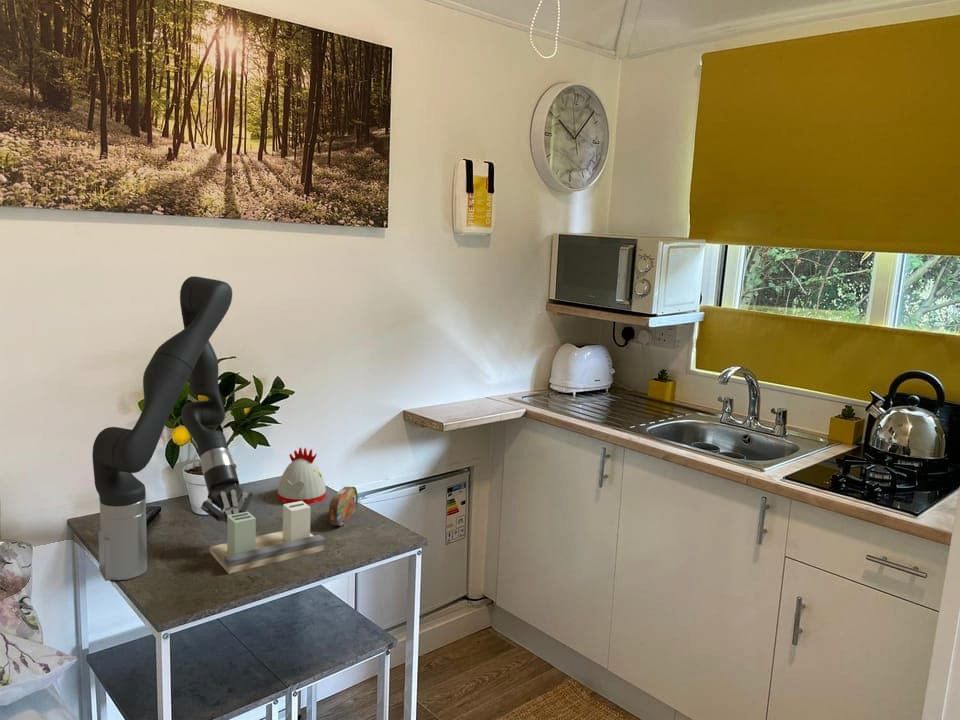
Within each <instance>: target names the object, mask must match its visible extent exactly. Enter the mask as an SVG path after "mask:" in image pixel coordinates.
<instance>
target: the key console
mask: <svg viewBox="0 0 960 720" xmlns="http://www.w3.org/2000/svg"><path fill="white" fill-rule="evenodd" d="M325 548H326V538H325V537H323V536H322V535H320V534H318V535H313V534H312V533H311V532H310V537H307V538H303V539H299V540H294V541H290V542H286V541H285V540H284V539H283V530H281V531H277V532H272V533H271V532H270V533H267V534H262V535H256V549H255V550H250V551H246V552H242V553H237V554H233V555H230V553H229V552H228V551H227V542H226V543H220V544H216V545H212V546H209V553H210V554H211V556H213V558H214V559H215V560H216V561H217V562H218V563H219V565H220V566H221V567H222V568H223V569H224V570H225V571H226V572H227V573H228V575H229V574H232V573H233V574H234V573H238V572H241V571H245V570H249V569H254V568H257V567H261V566H265V565H271V564H276V563H278V562H282V561H287V560H290V559H295V558H299V557H303V556H307V555H311V554H315V553H320V552H323V551H325V550H326V549H325Z"/></svg>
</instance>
